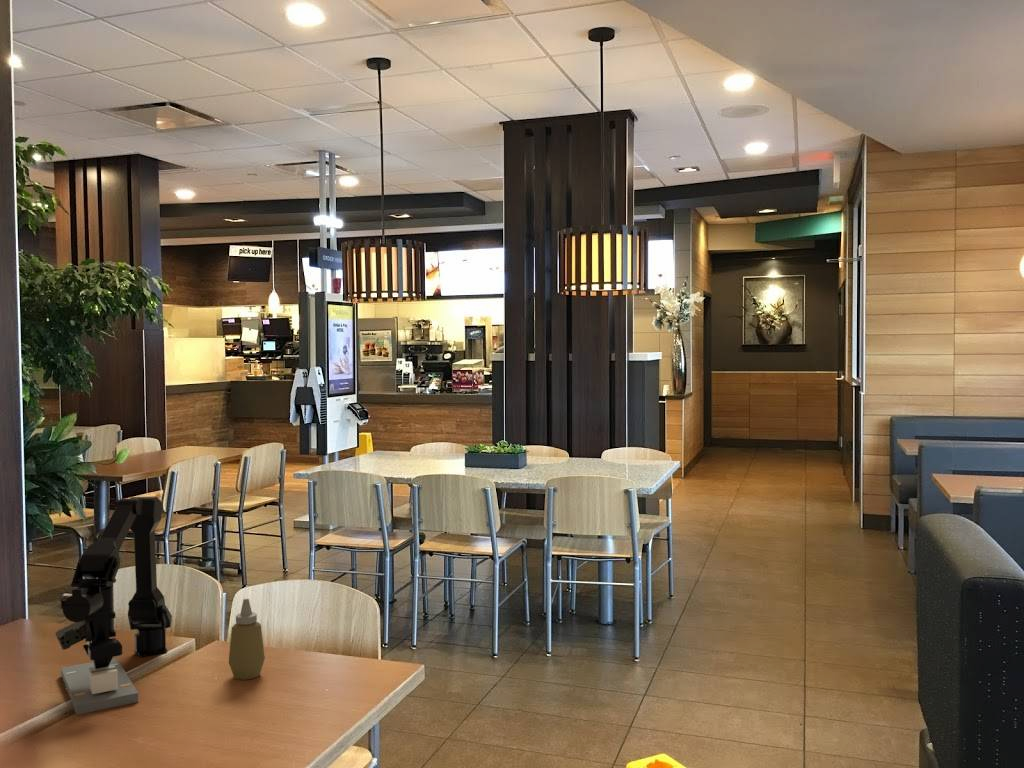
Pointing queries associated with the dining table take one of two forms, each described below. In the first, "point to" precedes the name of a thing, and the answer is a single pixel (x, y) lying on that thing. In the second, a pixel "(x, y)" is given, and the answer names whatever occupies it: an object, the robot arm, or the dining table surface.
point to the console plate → (88, 702)
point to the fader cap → (103, 679)
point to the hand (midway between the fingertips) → (100, 678)
